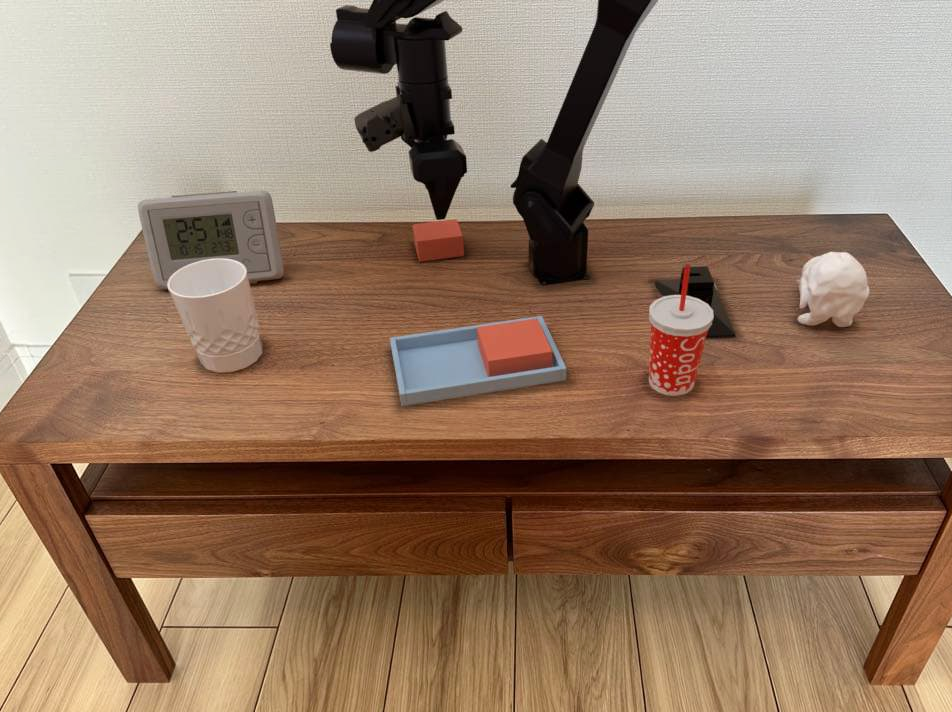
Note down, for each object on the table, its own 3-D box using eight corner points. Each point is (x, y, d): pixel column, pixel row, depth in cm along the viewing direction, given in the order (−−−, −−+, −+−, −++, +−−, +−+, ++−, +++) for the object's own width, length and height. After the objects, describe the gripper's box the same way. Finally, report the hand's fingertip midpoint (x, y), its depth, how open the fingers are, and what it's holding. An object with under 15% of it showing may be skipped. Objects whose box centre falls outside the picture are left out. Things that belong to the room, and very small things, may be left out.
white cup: (248, 380, 81) (223, 300, 74) (181, 373, 82) (151, 293, 76) (280, 338, 87) (259, 261, 80) (217, 332, 88) (192, 255, 82)
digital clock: (150, 293, 95) (120, 215, 88) (179, 258, 102) (153, 182, 95) (276, 295, 94) (256, 215, 87) (296, 259, 101) (279, 183, 94)
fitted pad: (537, 336, 85) (537, 318, 83) (552, 370, 80) (552, 351, 78) (477, 345, 84) (476, 327, 82) (489, 380, 79) (488, 361, 77)
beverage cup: (646, 405, 76) (661, 283, 67) (636, 368, 81) (648, 250, 72) (707, 402, 76) (729, 281, 67) (693, 365, 81) (713, 247, 72)
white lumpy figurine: (817, 265, 79) (797, 223, 89) (800, 337, 84) (783, 289, 94) (880, 268, 78) (853, 225, 88) (860, 340, 83) (836, 292, 93)
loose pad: (458, 238, 104) (456, 218, 102) (464, 256, 100) (462, 235, 99) (414, 244, 103) (412, 224, 101) (419, 262, 100) (417, 241, 98)
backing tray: (541, 330, 87) (541, 315, 85) (566, 383, 79) (566, 368, 78) (391, 352, 84) (389, 337, 83) (402, 409, 76) (399, 394, 75)
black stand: (654, 282, 94) (658, 249, 91) (712, 281, 94) (718, 247, 91) (672, 339, 85) (677, 303, 82) (738, 337, 85) (745, 301, 82)
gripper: (348, 61, 93) (366, 182, 103) (358, 110, 79) (379, 245, 89) (437, 52, 95) (447, 172, 105) (463, 99, 81) (471, 233, 91)
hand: (435, 203), depth 97 cm, fingers open, 9 cm apart
